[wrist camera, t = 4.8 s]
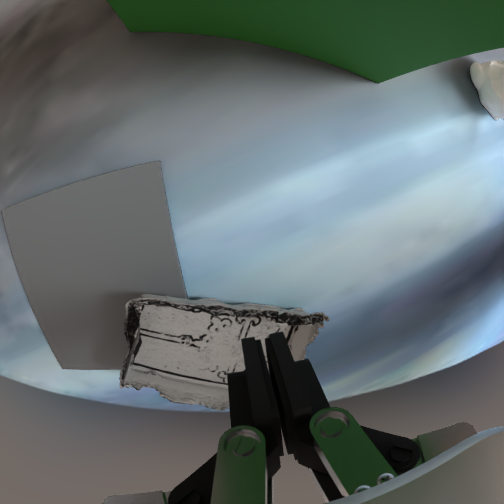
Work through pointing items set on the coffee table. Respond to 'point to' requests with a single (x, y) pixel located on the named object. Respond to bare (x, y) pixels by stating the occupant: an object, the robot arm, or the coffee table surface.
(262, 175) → the coffee table surface
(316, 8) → the hardback book
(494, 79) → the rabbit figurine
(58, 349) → the mat
